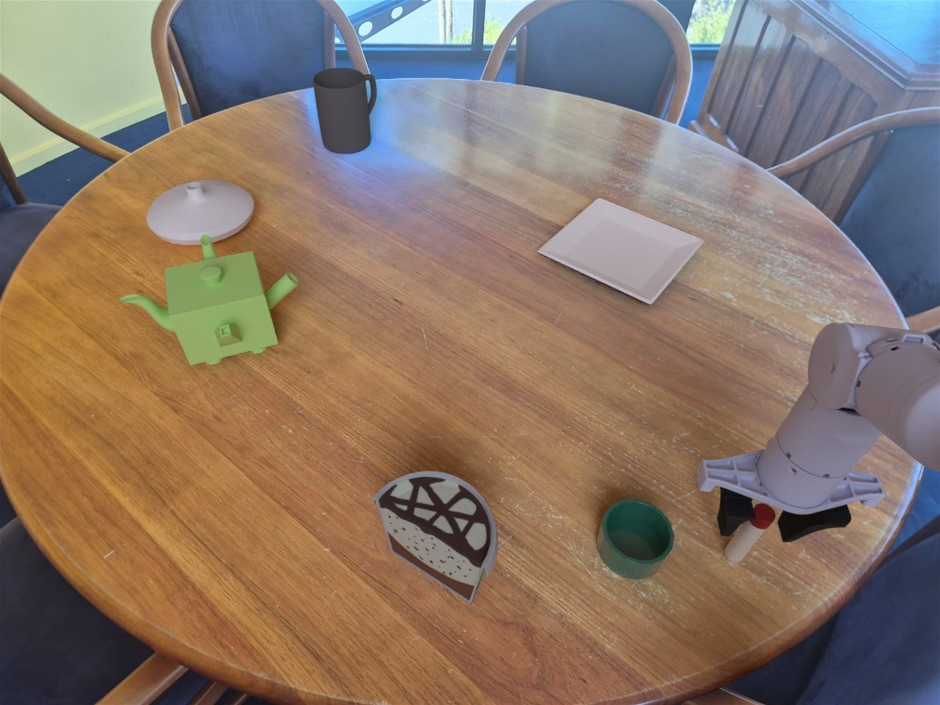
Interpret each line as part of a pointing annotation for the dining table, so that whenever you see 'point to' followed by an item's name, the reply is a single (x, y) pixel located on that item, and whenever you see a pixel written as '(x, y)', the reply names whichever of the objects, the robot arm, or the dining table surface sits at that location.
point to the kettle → (218, 305)
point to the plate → (622, 249)
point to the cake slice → (440, 529)
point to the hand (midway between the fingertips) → (752, 529)
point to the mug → (344, 108)
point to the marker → (750, 532)
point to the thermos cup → (634, 538)
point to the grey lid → (200, 212)
